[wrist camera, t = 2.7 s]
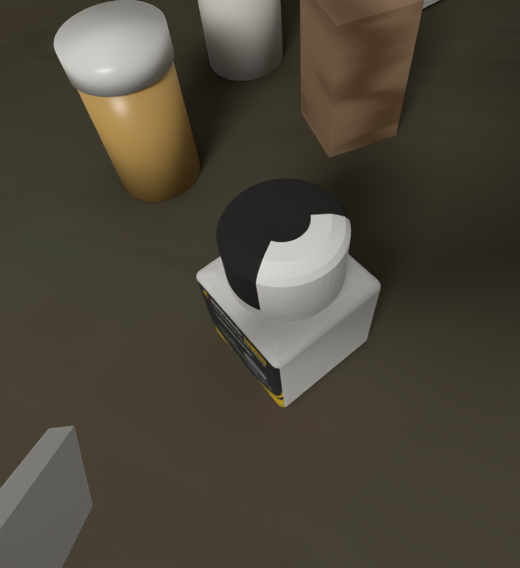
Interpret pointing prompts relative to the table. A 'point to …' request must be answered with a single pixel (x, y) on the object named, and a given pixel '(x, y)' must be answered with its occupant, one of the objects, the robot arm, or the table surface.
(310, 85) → the walnut block
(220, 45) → the white tub
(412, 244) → the table surface
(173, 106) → the amber jar
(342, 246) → the medicine bottle
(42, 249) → the table surface
